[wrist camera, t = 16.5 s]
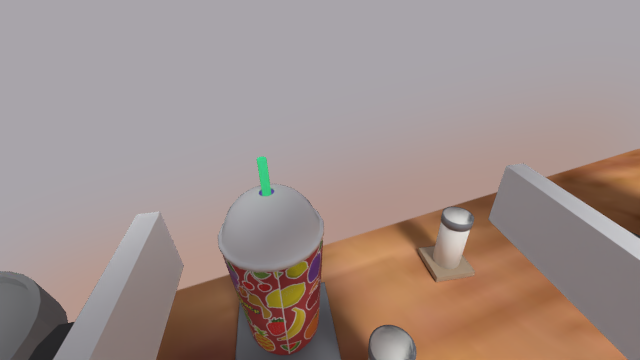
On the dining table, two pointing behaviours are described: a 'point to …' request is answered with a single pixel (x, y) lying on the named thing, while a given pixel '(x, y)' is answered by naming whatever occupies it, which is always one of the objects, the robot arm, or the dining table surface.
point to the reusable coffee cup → (25, 316)
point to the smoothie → (275, 263)
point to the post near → (391, 344)
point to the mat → (316, 356)
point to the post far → (450, 246)
